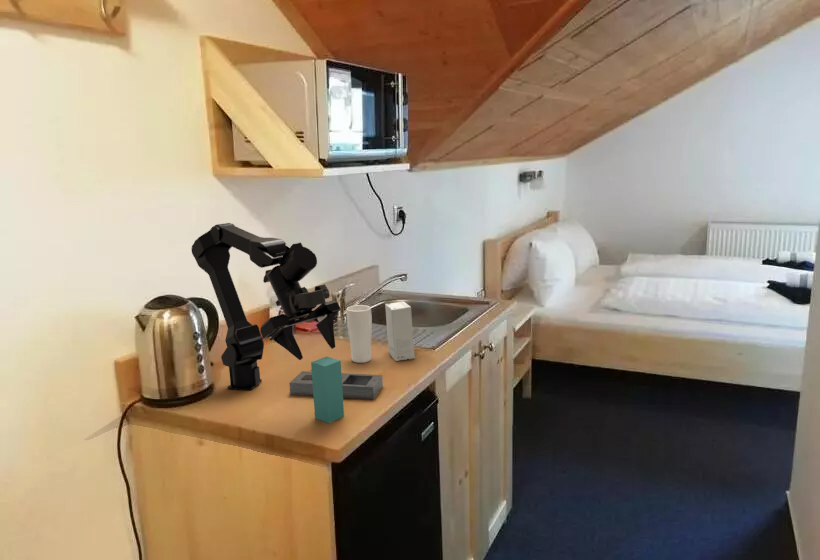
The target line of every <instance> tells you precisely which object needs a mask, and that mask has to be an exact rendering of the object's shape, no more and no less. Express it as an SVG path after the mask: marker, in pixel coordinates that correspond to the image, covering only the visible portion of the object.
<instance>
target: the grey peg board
mask: <svg viewBox="0 0 820 560" xmlns="http://www.w3.org/2000/svg"><path fill="white" fill-rule="evenodd" d="M341 375H342V391H343V399H362V400H364V399H365V400H375V398H376V397H377V396H376V395H378V394H379V393H380V391H381V390H382V388H383V386H384V385H383V384H384V381H383V375H382V374H369V373H368V374H367V373H365V374H364V373H348V372H347V373H345V372H341ZM378 392H379V393H378ZM289 394H290V395H291V396H292V395H293V396H306V397H307V396H308V397H310V396H312V397H314V396H313V382H312V371H307V370H302V371H301V372H299V373H298V374H297V375H296V376H295V377H294V378H293V379H292V380H290V382H289Z"/></svg>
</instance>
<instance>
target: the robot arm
mask: <svg viewBox="0 0 820 560" xmlns="http://www.w3.org/2000/svg"><path fill="white" fill-rule="evenodd" d="M232 248H234V249H236V250H238V251H241V252H242V253H245V254H247V256H249V260H250V261H251V262H252V263H254V264H255V265H256V266H257V267H258V268H260V269H261V268H262V269H263V268H267V267H272V269H267V270H265V274H264V276H263V280H262V281H263V283H270V285H271V286H270V287H272V290H273V292H274V295H275V296H276V298H277V300H276V301H275V304H276V307H279V306H280V307H281V309H282V312H283V313H282V314H278V315H275V316H271V317H269V318H268V319H267V320H266V321H265V322H264V323H263V324H262V325H260V327H259V326H258V324H252V323H251V322H250V321H248V319H247V316H246V313H245V311H244V308H243V306H242V303H241V300H240V297H239V295H238V292H237V289H236V287H235V283H234V281H233V277H232V275H231V273H230V269H229V264H230V259H231V253H230V250H231V249H232ZM190 249H191V253H192V254H191V255H192V257H194V260H195V261H196V264H197V267H199V268H200V269H201V270H203V271H204V272H205V273H206V274H207V275H208V276H209V280H210V282H211V285H212V287H213V291H214V293H215V296H216V298H217V302H218V304H219V307H220V310H221V312H222V315H223V319H224V320H225V324H226V327H227V330H226V331H227V332H226V336H225V340H224V341H225V344H226V348H225V350H224V352H223V353H222V355H221V356H220V358H221V361H222V362H221V363H222V365H223V366H225V367H228V370H229V371H228V373H229V381H230V382H229V383H230V384H229V385H228V386H227V389H228V390H239V391H240V390H241V391H251V390H254V388H255V387H256V386H258V385H259V384H260V383H261V382H263V380H262V378H261V374H260V373H261V372H260V366H259V365H258V361H259V360H263V354H264V349H265V348H264V347H265V342H264V340H266V339H269V341H270V342H276V344H278V345H280V347H283V348H284V349H285V350H286V351H288V352H289V353H290V354H291V355H293V356H294V358H296V359H297V360H299V361H301V360H303V358H304V355H303V354H302V351H301V349H300V347H299V345H298V343H297V342H298V341H296V338H295V336H294V327H293V326H295V325H299V324H302V323H305V322H309V321H312V320H313V321H315V322H316V325H315V327H316V328H317V329H318V331H319V332H320V334H321V336H322V337H323V339H324V341H325V342H326V344H327V345H328V346H329V348H330V349H334V348H336V340H335V339H336V337H335V330H334V329H335V328H334V326H335V325H334V324H335V323H334V322H335V318H337V316H338V315H339V312H340V311H341V310H342V307H341V306H340V304H339V303H338V301H336V300H334V299H332V300H329V301H326V299H329V298H330V297H331V296H330V291H329V289H328V287H327V285H326V284H325V283H324V284H319V285H315V286H314V290H312V291H309V290H308V288H307V287H305V286H303V287H302V286H301V284H300V281H302V280H303V279H304V278H305V277H306V276H308V274H309V273H310V272H311V271H313V269H315V268H316V267H317V265H318V259H317V256H316V254H315V253H314V252H313V251H312V250H311V249H309V248H308V247H306V246H303V244H302V242H295V243H293V244H292V245H291V246H289V245H288V244H287V243H286V242H285V240H283V239H282V238H277V237H262V236H258V235H256V234H254V233H252V232H249V231H247V230H246V229H245V230H244V229H243V228H240V227H238V226H236V225H235V224H233V223H231V222H226V223H219V224H218V223H217V224H215V225H213V226H212V227H211V228H210V229H209V230H208V231H206V232H205V233H203V234H201V235H200V236H199V237H197V239H195V240H194V243H192V245H191V248H190ZM273 266H274V267H273ZM318 305H319V306H318ZM313 309H314V310H313Z"/></svg>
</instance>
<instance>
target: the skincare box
mask: <svg viewBox="0 0 820 560" xmlns="http://www.w3.org/2000/svg"><path fill="white" fill-rule="evenodd" d="M384 306H385V319H386V331H387V333H386V335H387V345H388V348H387V349H388V354H389V355H390V356H391V357H392V359H394V361H395V362H399V361H405V360H407V359H409V360H414V359H416V358H415V346H414V345H415V344H414V332H413V331H414V330H413V317H412V315H413V314H412V307H411V305H409V304H408V303H407V302H405V301H396V302H390V303H385V304H384ZM413 358H414V359H413ZM407 361H408V360H407Z"/></svg>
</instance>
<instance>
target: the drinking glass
mask: <svg viewBox="0 0 820 560" xmlns="http://www.w3.org/2000/svg"><path fill="white" fill-rule="evenodd" d="M372 322H373V318H372V308H371V306H369V305H366V304H357V305H355V304H354V305H351V306H348V307H346V325H347V333H348V338H349V339H348V340H349V345H350V347H349V348H350V352H351V353H350V354H351V360H352V362H354V363H357V364H362V363H368V362H369V361H371V359H372V352H371V351H372V329H373V328H372V327H373V326H372V325H373V323H372Z"/></svg>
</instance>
